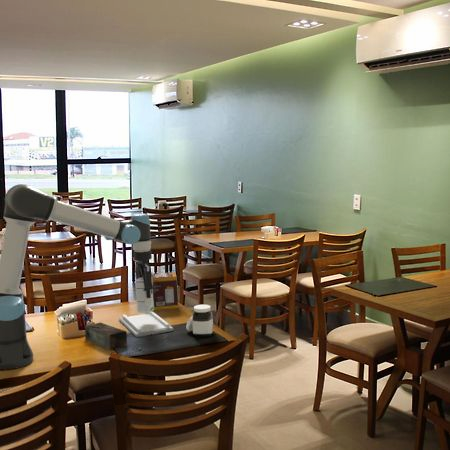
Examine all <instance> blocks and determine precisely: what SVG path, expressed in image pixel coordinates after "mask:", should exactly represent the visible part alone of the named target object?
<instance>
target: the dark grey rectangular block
mask: <svg viewBox="0 0 450 450" xmlns="http://www.w3.org/2000/svg"><path fill="white" fill-rule="evenodd" d="M127 334H128V333H127V330H123V329H120V328H118V327H113V326H111V325H109V324H106V323H103V322H97V323H89V324H88V325H85V326H84V337H85V341H88V342H90V343H91V344H94V345H97V346H100V347H102V348H105V349H107V350H110V351H112V350H116V349H120V348H123V347H127V346H128V345H127V344H128V341H127V340H128V337H127V336H128V335H127Z"/></svg>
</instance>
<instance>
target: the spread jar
mask: <svg viewBox="0 0 450 450" xmlns="http://www.w3.org/2000/svg"><path fill="white" fill-rule="evenodd" d="M192 313H193V314H192V316H190V318H189V319H188V320H187V322H186V325H185V327H186V328H185V329H186V330H187V331H188V332H192V334H193V336H195V337H197V338H207V337H211V336H212V335H213V332H214V319H213V312H212V309H211V305H209V304H197V305H194V306H193V312H192Z"/></svg>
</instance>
